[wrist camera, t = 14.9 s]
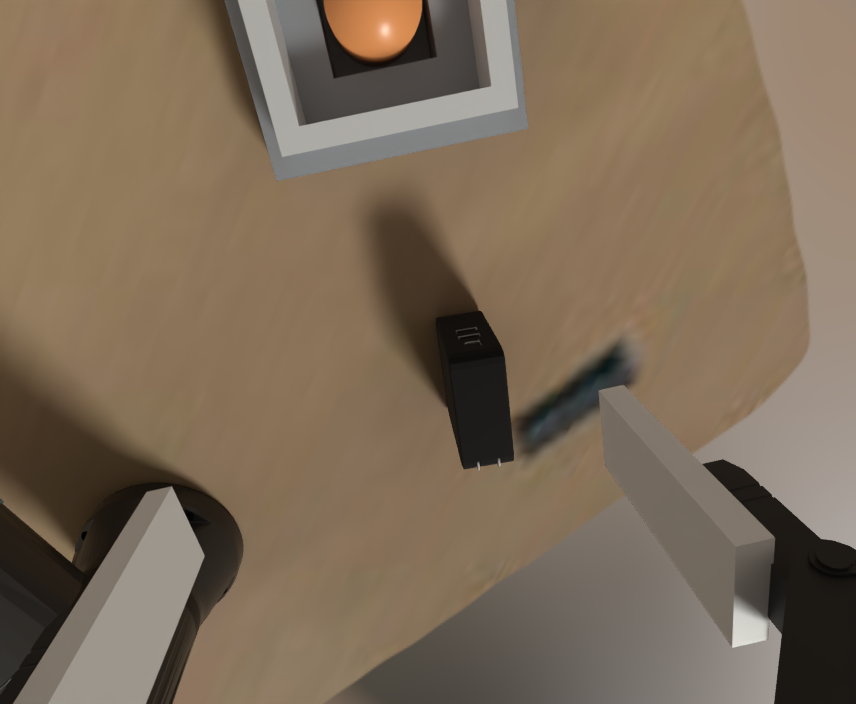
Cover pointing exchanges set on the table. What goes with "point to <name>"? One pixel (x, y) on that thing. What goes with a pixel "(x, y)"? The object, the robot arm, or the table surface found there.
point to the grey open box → (378, 83)
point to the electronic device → (475, 389)
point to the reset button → (374, 28)
